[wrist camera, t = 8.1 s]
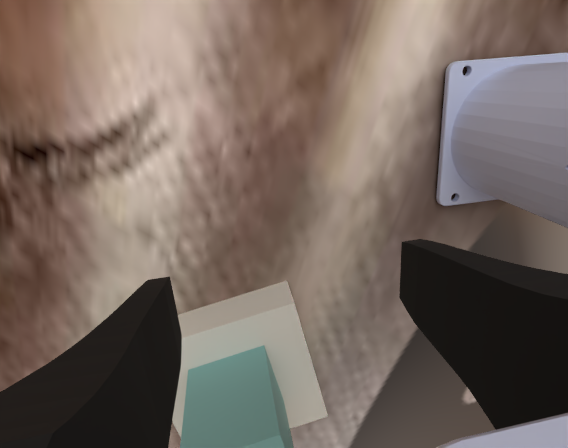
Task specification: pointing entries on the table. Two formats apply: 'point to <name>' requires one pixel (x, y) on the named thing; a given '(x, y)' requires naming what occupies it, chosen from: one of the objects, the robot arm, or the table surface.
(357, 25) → the table surface
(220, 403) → the teal block
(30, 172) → the table surface
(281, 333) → the ceramic slab
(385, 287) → the table surface
